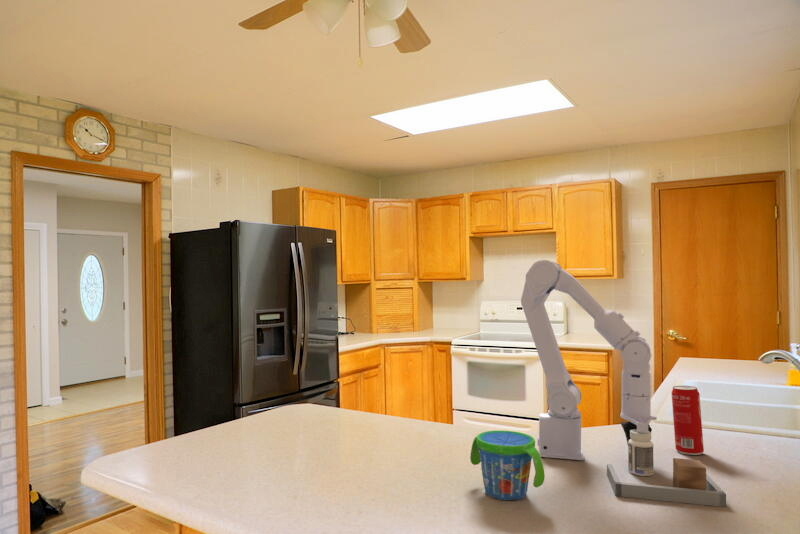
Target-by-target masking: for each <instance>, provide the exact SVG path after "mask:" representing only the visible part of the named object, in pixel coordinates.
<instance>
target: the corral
mask: <svg viewBox="0 0 800 534" xmlns="http://www.w3.org/2000/svg"><path fill="white" fill-rule="evenodd" d="M606 476H607V479H608V481H609V483H610V486H611V488H612V491H613V493H614V496H616V497H622V498H623V497H625V498H634V499H642V500H643V499H644V500H653V501H663V502H673V503H674V502H675V503H682V504H683V503H684V504H691V505H692V504H693V505H703V506H710V507H711V506H712V507H724V508H727V494H726V492H724V491H723V489H721V487H720V486H719V485H718V484H717V483H716V482H715V481H714V480H713V479H712V478H711V477H710V476H709V475H708V473H706V490H697V489H687V488H676V487H673V486H665V485H664V486H663V485H654V484H653V485H652V484H643V483H635V482H634V483H632V482H625V481H622V482H621V480H620V478H619V476H618V474H617V472H616V470H615V467H614V466H613V464H610V463H607V464H606Z"/></svg>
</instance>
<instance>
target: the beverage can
mask: <svg viewBox="0 0 800 534" xmlns="http://www.w3.org/2000/svg"><path fill="white" fill-rule="evenodd" d="M700 398H701V396H700V392H699V390H698V387H696V386H691V385H674V386H672V390H671V403H672V416H673V417H672V419H673V430H674V432H673V433H674V445H675V450H676V451H677V452H678V453H680V454H683V455H689V456H697V455H698V456H699V455H702V454H703V453H704V452H705V450H704V449H705V447H704V438H703V437H704V434H703V423H702V410H701V399H700Z"/></svg>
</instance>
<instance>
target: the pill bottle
mask: <svg viewBox="0 0 800 534" xmlns="http://www.w3.org/2000/svg"><path fill="white" fill-rule="evenodd" d="M630 438H631V439H630V440H629V441H628V444H627V450H628V451H627V453H628V455H627V457H628V458H627V459H628V460H627V461H628V462H627V464H628V465H627V466H628V467H627V468H628V472H629V473H630V474H633V475H634V476H640V477H650V476H653V475H654V443H653V442H652V441H651V440H652V431H651V432H650V431H648V433H644V432H637V429H632V430H630Z"/></svg>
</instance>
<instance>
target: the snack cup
mask: <svg viewBox="0 0 800 534" xmlns="http://www.w3.org/2000/svg"><path fill="white" fill-rule="evenodd" d="M469 458H470V459H469V460H470V463H471V464H472V465H473V466H476V465H479V464H480V467H481V475H482V481H483V486H484V492H485V493H486V495H489V497H491V498H495V499H499V500H501V501H516V500H522V499H523V498H525V496H526V494H527V493H528V485H529V482H530V481H529V480H530V473H531V467H532V463H533V466H534V470H535V471H534V473H535V474H534V478H533V484H532V485H533V487H534V488H539V487H541V486H542V485H543V484H544V482H545V469H544V464H543V460H542V457H540V454H539V450H538V449H537V448H536V440H535V438H534V437H533V436H532V435H529V434H527V433H523V432H519V431H512V430H488V431H483V432H481V433H478V434H477V435H476V436H475V437H474V439H473V441H472V444H471V450H470V457H469ZM532 461H533V462H532Z"/></svg>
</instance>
